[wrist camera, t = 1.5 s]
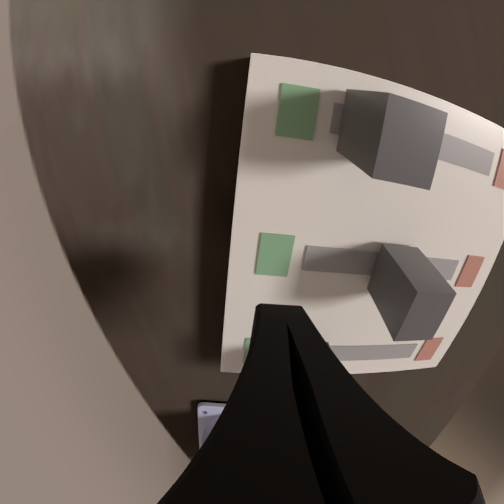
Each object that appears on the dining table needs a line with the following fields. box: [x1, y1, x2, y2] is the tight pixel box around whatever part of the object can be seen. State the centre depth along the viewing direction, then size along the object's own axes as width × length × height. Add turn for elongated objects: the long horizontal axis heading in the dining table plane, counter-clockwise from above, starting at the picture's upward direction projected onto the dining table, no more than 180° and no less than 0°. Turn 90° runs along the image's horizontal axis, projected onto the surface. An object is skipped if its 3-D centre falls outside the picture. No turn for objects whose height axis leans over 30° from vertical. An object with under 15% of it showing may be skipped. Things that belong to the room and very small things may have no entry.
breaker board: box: [220, 53, 504, 374], centre depth 13 cm, size 16×15×5 cm
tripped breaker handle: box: [367, 243, 457, 342], centre depth 12 cm, size 2×2×4 cm
